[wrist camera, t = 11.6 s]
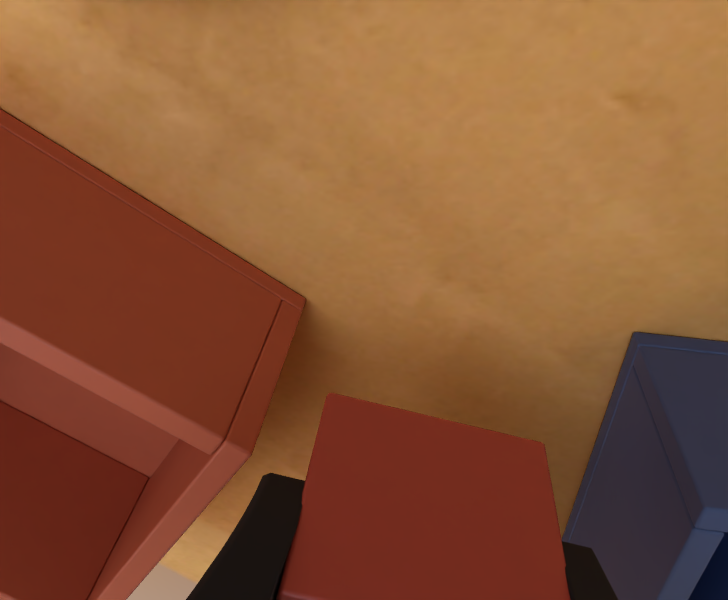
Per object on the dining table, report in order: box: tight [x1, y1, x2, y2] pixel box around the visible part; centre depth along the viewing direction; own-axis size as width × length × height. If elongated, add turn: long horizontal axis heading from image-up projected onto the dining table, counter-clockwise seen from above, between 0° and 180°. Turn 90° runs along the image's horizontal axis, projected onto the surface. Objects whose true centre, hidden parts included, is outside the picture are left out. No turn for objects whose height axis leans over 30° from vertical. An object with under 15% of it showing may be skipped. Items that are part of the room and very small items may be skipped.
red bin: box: [0, 109, 306, 600], centre depth 16 cm, size 9×9×6 cm
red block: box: [276, 393, 571, 600], centre depth 11 cm, size 4×4×4 cm
